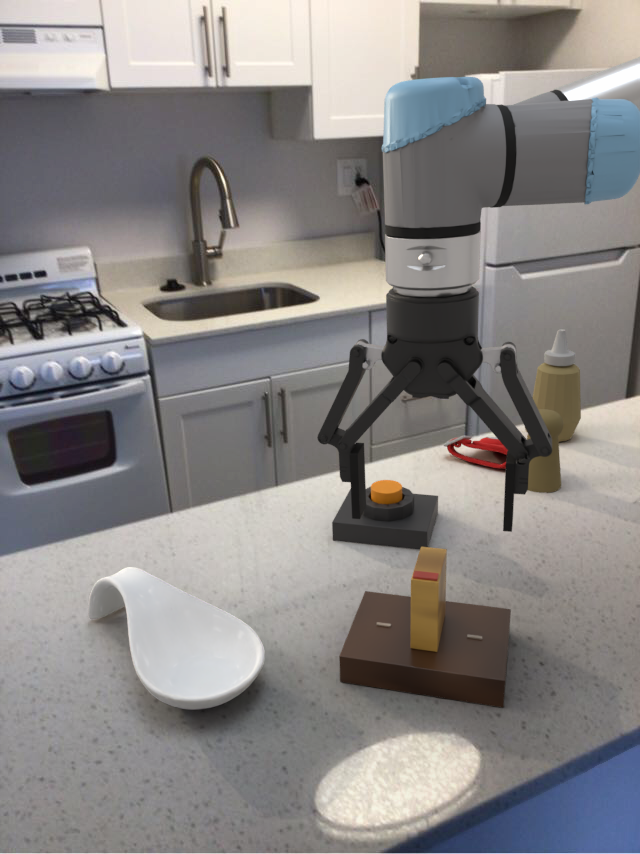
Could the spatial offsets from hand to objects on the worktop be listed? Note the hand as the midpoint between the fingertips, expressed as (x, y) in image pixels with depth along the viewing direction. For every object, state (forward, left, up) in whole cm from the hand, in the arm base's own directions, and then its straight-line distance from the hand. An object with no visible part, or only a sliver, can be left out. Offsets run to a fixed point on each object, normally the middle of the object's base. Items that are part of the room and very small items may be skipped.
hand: (431, 518), depth 69 cm
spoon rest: (+25, +7, -15) cm, 30 cm away
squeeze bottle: (-12, -60, -15) cm, 63 cm away
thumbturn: (0, +1, -12) cm, 12 cm away
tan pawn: (-10, -41, -15) cm, 45 cm away
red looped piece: (-2, -49, -15) cm, 52 cm away
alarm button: (+9, -24, -11) cm, 28 cm away
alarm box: (+9, -24, -15) cm, 30 cm away
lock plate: (0, +1, -15) cm, 15 cm away
